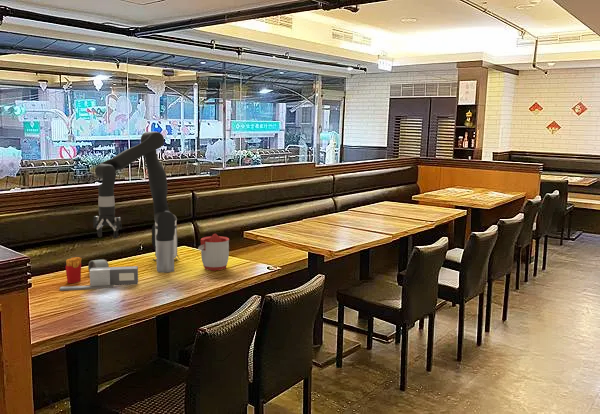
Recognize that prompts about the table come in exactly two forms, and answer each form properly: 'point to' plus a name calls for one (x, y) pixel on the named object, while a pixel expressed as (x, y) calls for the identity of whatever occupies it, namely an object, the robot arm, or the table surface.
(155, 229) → the coffee press
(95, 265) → the ceramic mug
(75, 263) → the french fries
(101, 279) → the sliding shutter
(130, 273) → the grey box with rod
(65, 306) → the table surface
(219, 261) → the citrus juicer
